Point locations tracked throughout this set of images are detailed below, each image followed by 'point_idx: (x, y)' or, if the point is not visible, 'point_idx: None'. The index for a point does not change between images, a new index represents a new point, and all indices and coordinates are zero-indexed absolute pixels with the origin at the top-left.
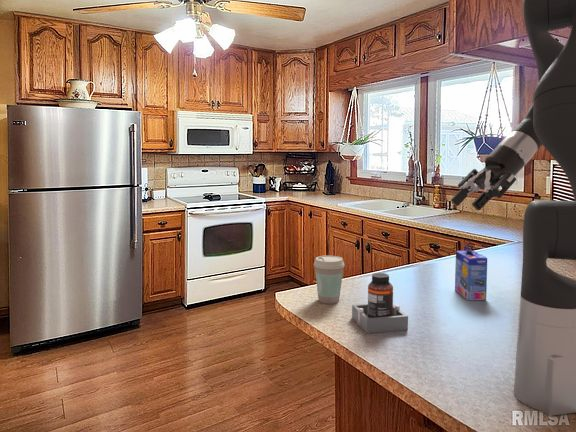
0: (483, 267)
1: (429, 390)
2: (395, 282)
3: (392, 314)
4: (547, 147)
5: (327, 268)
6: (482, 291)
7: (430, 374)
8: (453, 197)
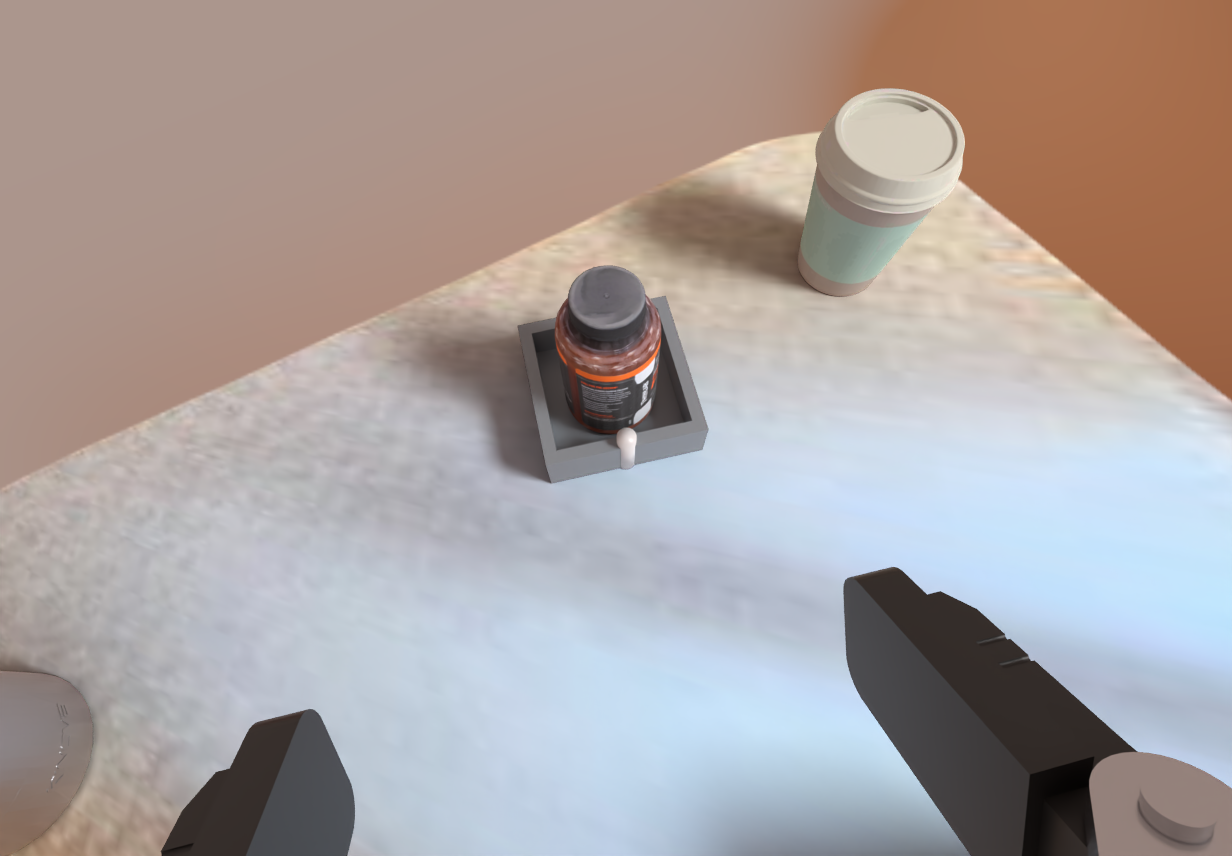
0: None
1: (150, 451)
2: (1179, 558)
3: (592, 422)
4: None
5: (817, 149)
6: None
7: (228, 475)
8: (906, 594)
